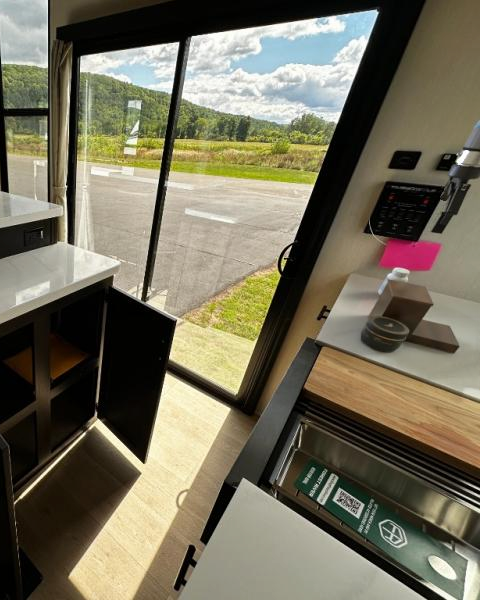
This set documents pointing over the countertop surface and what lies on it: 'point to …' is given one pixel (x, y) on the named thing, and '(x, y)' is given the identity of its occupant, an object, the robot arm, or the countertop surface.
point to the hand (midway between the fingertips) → (432, 226)
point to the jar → (384, 333)
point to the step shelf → (414, 315)
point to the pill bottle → (395, 277)
